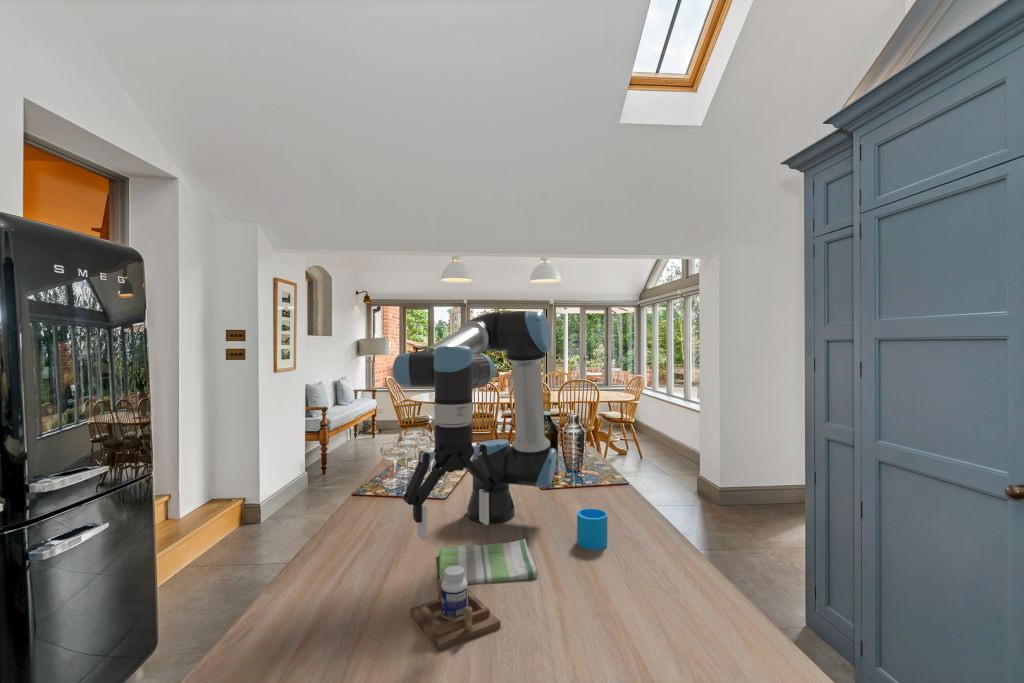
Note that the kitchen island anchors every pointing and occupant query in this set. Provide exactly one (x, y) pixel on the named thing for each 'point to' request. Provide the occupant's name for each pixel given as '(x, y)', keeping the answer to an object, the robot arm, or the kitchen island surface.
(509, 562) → the dish towel
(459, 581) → the pill bottle
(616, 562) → the kitchen island surface
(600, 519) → the mug
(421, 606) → the cradle
